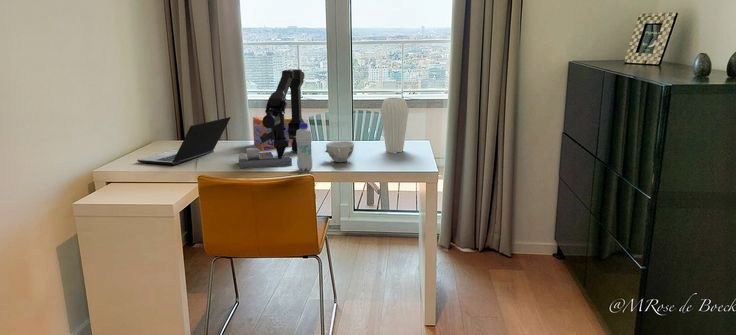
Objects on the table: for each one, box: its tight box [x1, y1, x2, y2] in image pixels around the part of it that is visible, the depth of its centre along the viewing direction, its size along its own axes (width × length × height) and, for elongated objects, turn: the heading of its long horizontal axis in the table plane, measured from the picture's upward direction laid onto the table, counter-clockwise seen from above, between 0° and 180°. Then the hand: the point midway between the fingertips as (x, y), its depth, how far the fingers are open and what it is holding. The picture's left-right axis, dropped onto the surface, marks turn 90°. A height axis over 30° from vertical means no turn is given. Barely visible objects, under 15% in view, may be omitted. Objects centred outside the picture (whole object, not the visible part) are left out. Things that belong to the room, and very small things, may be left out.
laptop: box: [137, 116, 232, 166], centre depth 252 cm, size 30×32×18 cm
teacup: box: [325, 141, 355, 163], centre depth 241 cm, size 15×12×8 cm
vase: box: [380, 96, 409, 154], centre depth 259 cm, size 13×13×26 cm
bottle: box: [296, 122, 313, 172], centre depth 224 cm, size 7×7×20 cm
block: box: [246, 147, 260, 161], centre depth 237 cm, size 5×4×7 cm
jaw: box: [259, 151, 275, 160], centre depth 239 cm, size 6×11×4 cm, turn 16°
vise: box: [237, 153, 293, 169], centre depth 238 cm, size 23×14×4 cm, turn 106°
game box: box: [252, 116, 292, 151], centre depth 276 cm, size 16×16×16 cm
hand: (279, 159), depth 241 cm, fingers closed
